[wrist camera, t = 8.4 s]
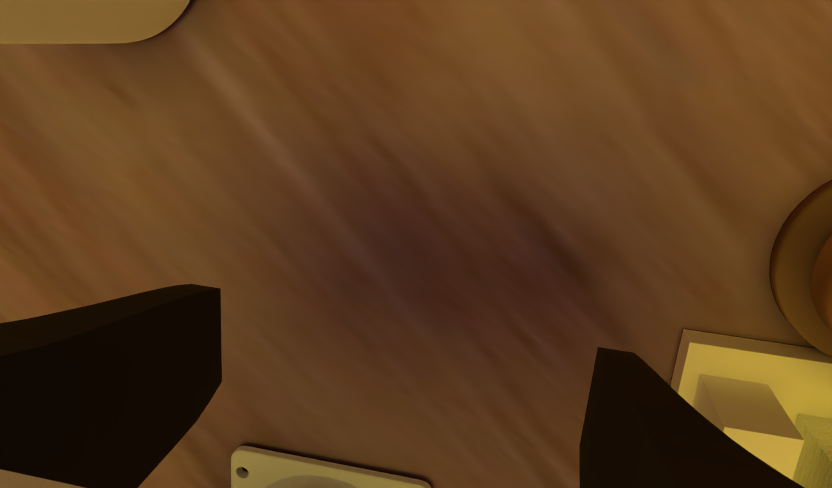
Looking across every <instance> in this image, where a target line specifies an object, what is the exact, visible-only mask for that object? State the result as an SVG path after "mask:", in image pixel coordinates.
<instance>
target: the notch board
mask: <svg viewBox="0 0 832 488" xmlns="http://www.w3.org/2000/svg"><path fill="white" fill-rule="evenodd" d="M670 386H671V387H672V388H673V389H674V390H675V391H676V392H677V393H678V394H679V395H680V396H681V397H682V398H683V399H685V400H686V401H687V402H688V403H689V404H690V405H691V406H692V407H693V408H695V409H696V410H697V411H698V412H699V413H700V414H702V415H703V416H704V417H705V418H706V419H707V420H709V421H710V422H711V423H712V424H714V425H715V426H716V427H717V428H719V429H720V430H721V431H722V432H724V433H725V434H726V435H727V436H729V437H730V438H731V439H732V440H734V441H735V442H736V443H738V444H739V445H741V446H742V447H743V448H745V449H746V450H747V451H749V452H750V453H752V454H753V455H755V456H756V457H758V458H759V459H761V460H762V461H764V462H765V463H767V464H768V465H770V466H771V467H773V468H774V469H776V470H777V471H779V472H780V473H782V474H783V475H785V476H786V477H788V478H790V479H791V480H792V478H793V475H794V472H795V469H796V465H797V462H798V459H799V456H800V453H801V449H802V446H803V443H804V439H803V438H802V436H801V435H800V433H799V432H798V430H797V429H796V427H795V425H794V424H795V421H796V417H797V414H798V413H800V414H806V415H812V416H819V417H825V418H831V419H832V357H831V356H829V355H827V354H825V353H823V352H821V351H820V350H818V349H815V348H808V347H802V346H795V345H788V344H781V343H775V342H768V341H761V340H754V339H748V338H741V337H734V336H727V335H721V334H714V333H707V332H700V331H694V330H687V329H683V333H682V337H681V342H680V346H679V350H678V355H677V359H676V363H675V368H674V372H673V377H672V381H671V385H670Z"/></svg>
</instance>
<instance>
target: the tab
mask: <svg viewBox="0 0 832 488" xmlns="http://www.w3.org/2000/svg"><path fill="white" fill-rule="evenodd" d="M794 425H795V427H796V429H797V430H798V432H799V433H800V435H801V436H802V438H803V439H804V443H803V446H802V449H801V453H800V456H799V459H798V462H797V465H796V469H795V472H794V475H793V478H792V480H793V481H795V482H796V483H798V484H800V485H801V486H803V487H804V488H832V419H831V418H825V417H819V416H812V415H806V414H800V413H798V414H797V417H796V421H795V424H794Z"/></svg>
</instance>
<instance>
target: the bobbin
mask: <svg viewBox="0 0 832 488" xmlns="http://www.w3.org/2000/svg"><path fill="white" fill-rule="evenodd" d="M770 281H771V288H772V291H773V295H774V298H775V300H776V302H777V305H778V307H779V309H780V310H781V312H782V313H783V315H784V316H785V318H786V319H787V320H788V321H789V322H790V324H791V325H792V326H793V327H794V328H795V329H796V330H797V332H798V333H799V334H800V335H801V336H802V337H803V338H804V339H805V340H806V341H807V342H809V343H810V344H811V345H812V346H814V347H815V348H817V349H818V350H820V351H821V352H823V353H825V354H827V355H829V356H831V357H832V180H831V181H829V182H828V183H826V184H824V185H822V186H821V187H820V188H818V189H817V190H815V191H814V192H813V193H811V194H810V195H809V196H808V197H807V198H805V199H804V200H803V201H802V202H801V203H800V204H799V205H798V206H797V207H796V208H795V210H794V211H793V212H792V213H791V214H790V216H789V217H788V219H787V220H786V221H785V223H784V224H783V226H782V228H781V230H780V232H779V234H778V236H777V238H776V241H775V244H774V247H773V250H772V255H771V260H770Z"/></svg>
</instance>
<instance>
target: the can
mask: <svg viewBox="0 0 832 488" xmlns="http://www.w3.org/2000/svg"><path fill="white" fill-rule="evenodd" d="M189 2H190V0H0V44H111V43H130V42H136V41H141V40H144V39H147V38H150V37H152V36H155V35H157V34H158V33H160V32H162V31H163V30H165V29H166V28H167V27H169V26H170V25H171V24H172V23H173V22H174V21H175V20H176V19H177V18H178V17H179V16H180V15H181V14H182V12H183V11H184V10H185V8H186V7H187V5H188V3H189Z"/></svg>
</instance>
